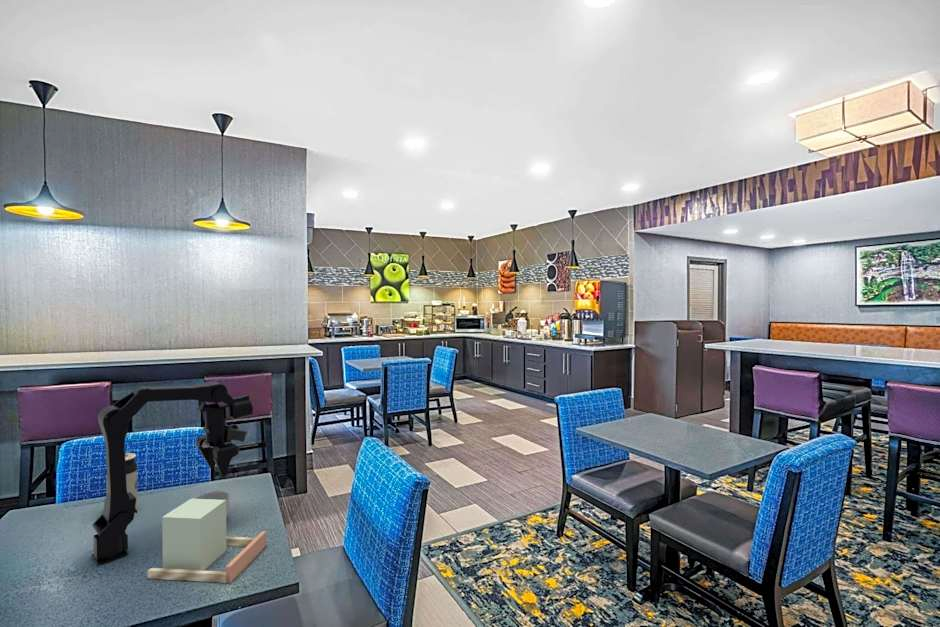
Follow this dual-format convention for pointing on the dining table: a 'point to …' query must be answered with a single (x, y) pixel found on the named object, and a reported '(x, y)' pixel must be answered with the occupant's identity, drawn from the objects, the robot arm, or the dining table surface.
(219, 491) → the teacup
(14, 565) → the dining table surface
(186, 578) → the guide chute
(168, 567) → the sage block
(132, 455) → the travel mug
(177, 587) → the dining table surface
